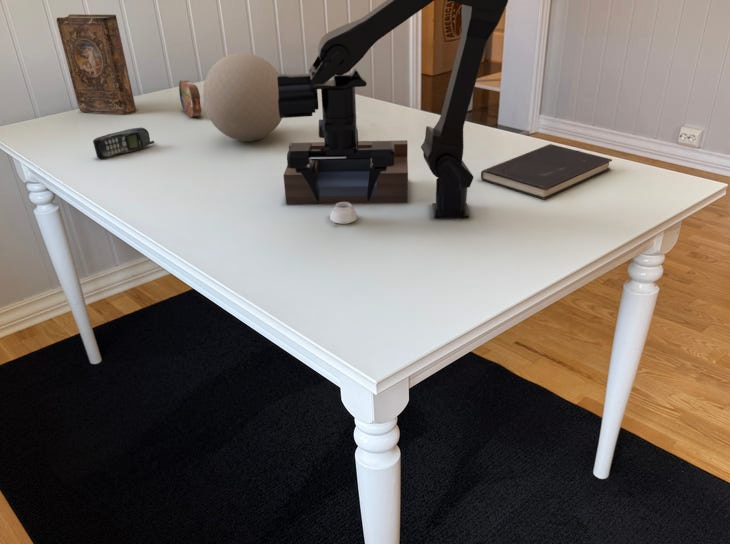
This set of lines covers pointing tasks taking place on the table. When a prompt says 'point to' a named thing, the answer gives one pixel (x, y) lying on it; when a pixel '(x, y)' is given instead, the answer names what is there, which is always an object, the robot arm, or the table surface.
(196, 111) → the tin
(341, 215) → the lidless jar
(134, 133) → the mobile phone
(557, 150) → the hardcover book
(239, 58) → the decorative sphere
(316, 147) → the toy sofa
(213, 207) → the table surface
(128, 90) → the book
